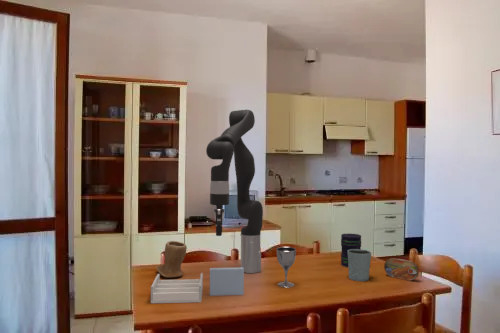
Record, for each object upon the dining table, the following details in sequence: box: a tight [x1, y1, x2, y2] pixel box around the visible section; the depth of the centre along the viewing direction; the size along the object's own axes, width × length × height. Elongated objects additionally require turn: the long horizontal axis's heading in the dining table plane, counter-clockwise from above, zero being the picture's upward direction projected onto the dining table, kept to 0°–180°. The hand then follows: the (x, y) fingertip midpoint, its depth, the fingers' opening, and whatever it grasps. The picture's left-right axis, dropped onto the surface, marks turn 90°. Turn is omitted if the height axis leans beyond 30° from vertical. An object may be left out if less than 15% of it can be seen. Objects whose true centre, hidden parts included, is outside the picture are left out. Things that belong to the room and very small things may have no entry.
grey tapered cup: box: [347, 249, 372, 282], centre depth 173 cm, size 10×10×12 cm
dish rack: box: [150, 272, 204, 304], centre depth 150 cm, size 18×16×6 cm
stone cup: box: [155, 240, 187, 278], centre depth 177 cm, size 15×12×15 cm
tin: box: [383, 257, 420, 282], centre depth 174 cm, size 15×3×8 cm, turn 45°
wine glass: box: [276, 246, 297, 288], centre depth 163 cm, size 8×8×15 cm
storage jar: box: [340, 233, 362, 268], centre depth 195 cm, size 10×10×15 cm
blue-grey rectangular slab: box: [209, 266, 245, 297], centre depth 151 cm, size 13×2×10 cm, turn 95°
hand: (219, 233), depth 153 cm, fingers open, 8 cm apart
